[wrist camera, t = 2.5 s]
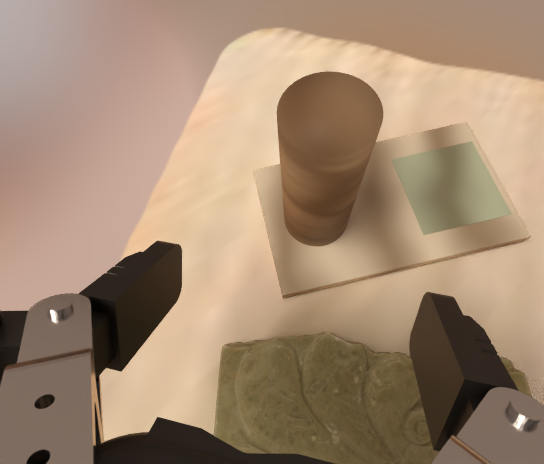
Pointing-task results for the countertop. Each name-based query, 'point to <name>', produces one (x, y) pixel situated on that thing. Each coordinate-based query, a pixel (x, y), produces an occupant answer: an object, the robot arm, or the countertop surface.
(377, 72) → the countertop surface
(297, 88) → the walnut roller
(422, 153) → the birch board
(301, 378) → the decorative tile
